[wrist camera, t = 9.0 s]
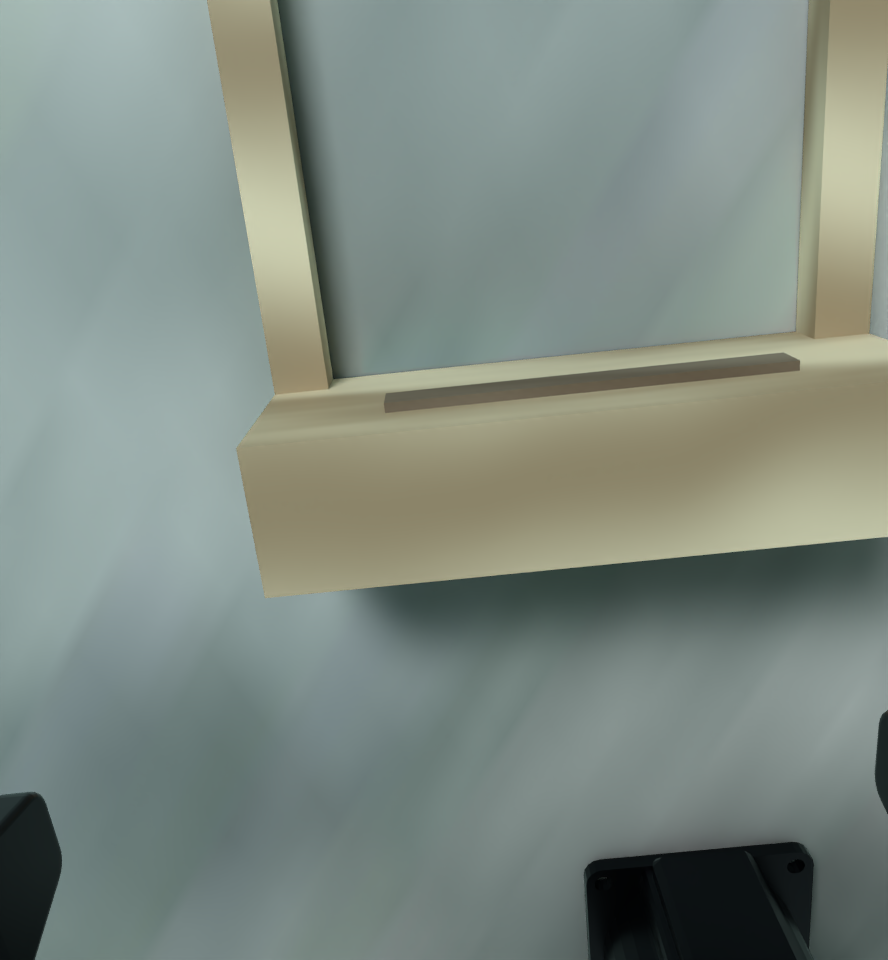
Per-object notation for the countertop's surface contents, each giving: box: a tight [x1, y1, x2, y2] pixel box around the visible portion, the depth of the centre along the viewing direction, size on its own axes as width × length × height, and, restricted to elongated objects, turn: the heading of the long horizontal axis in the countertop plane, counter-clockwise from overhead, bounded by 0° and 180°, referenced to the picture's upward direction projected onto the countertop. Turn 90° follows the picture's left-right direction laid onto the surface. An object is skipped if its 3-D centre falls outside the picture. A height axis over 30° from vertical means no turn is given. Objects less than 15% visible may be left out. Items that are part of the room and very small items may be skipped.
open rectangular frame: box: [207, 0, 888, 598], centre depth 16 cm, size 15×13×5 cm
